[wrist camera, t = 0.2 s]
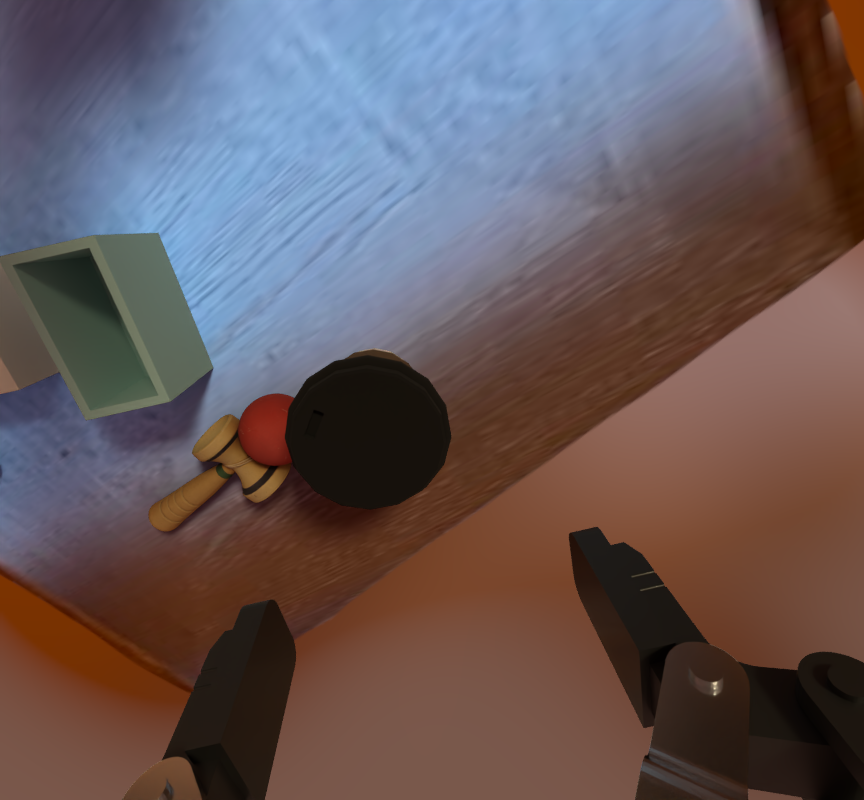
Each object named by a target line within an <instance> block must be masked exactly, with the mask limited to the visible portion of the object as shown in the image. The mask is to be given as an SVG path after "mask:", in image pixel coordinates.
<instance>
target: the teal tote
mask: <svg viewBox="0 0 864 800" xmlns="http://www.w3.org/2000/svg"><path fill="white" fill-rule="evenodd" d="M0 264H1V265H2V267H3V269H4V271H5V273H6V275H7V276H8V278H9V280H10V282H11V284H12V286H13V288H14V289H15V291H16V293H17V295H18V297H19V299H20V300H21V302H22V304H23V306H24V308H25V310H26V311H27V313H28V315H29V317H30V319H31V321H32V322H33V324H34V326H35V328H36V330H37V332H38V333H39V335H40V337H41V339H42V341H43V343H44V344H45V346H46V348H47V350H48V352H49V354H50V355H51V357H52V359H53V361H54V363H55V365H56V366H57V368H58V370H59V372H60V374H61V376H62V377H63V379H64V381H65V383H66V385H67V387H68V388H69V390H70V392H71V394H72V396H73V398H74V399H75V401H76V403H77V405H78V407H79V409H80V410H81V412H82V414H83V416H84V418H85V420H90V419H95V418H99V417H104V416H108V415H113V414H117V413H121V412H126V411H130V410H135V409H139V408H144V407H148V406H153V405H157V404H162V403H166V402H171V401H172V400H173V399H174V398H176V397H177V396H178V395H180V394H181V393H182V392H183V391H185V390H186V389H187V388H188V387H190V386H191V385H192V384H194V383H195V382H196V381H197V380H199V379H200V378H201V377H202V376H204V375H205V374H206V373H207V372H209V371H210V370H211V369H213V365H212V363H211V360H210V358H209V355H208V353H207V350H206V348H205V346H204V343H203V341H202V338H201V336H200V333H199V331H198V329H197V326H196V324H195V321H194V319H193V316H192V314H191V311H190V309H189V307H188V304H187V302H186V299H185V297H184V294H183V292H182V289H181V287H180V285H179V282H178V280H177V277H176V275H175V272H174V270H173V268H172V265H171V263H170V260H169V258H168V255H167V253H166V250H165V248H164V246H163V243H162V241H161V238H160V236H159V233H141V234H113V235H93V236H88V237H84V238H79V239H75V240H71V241H66V242H62V243H57V244H53V245H48V246H44V247H40V248H35V249H31V250H26V251H22V252H18V253H13V254H9V255H4V256H0Z"/></svg>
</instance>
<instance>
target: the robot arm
mask: <svg viewBox="0 0 864 800" xmlns="http://www.w3.org/2000/svg"><path fill="white" fill-rule="evenodd" d="M569 542H570V550H571V558H572V566H573V574H574V580H575V584H576V588H577V591H578V594H579V597H580V599H581V601H582V603H583V605H584V607H585V609H586V612H587V613H588V616H589V617H590V620H591V622H592V624H593V626H594V628H595V630H596V632H597V634H598V636H599V638H600V640H601V642H602V644H603V646H604V648H605V650H606V652H607V654H608V656H609V658H610V661H611V663H612V664H613V667H614V668H615V670H616V673H617V675H618V677H619V679H620V681H621V683H622V685H623V687H624V689H625V691H626V693H627V695H628V697H629V699H630V701H631V703H632V705H633V707H634V709H635V711H636V713H637V715H638V718H639V720H640V722H641V724H642V726H643V728H647V727H651V726H654V728H653V733H652V740H651V745H650V749H649V753H648V755H646V756H645V757H644V759H643V763H642V767H641V771H640V776H639V781H638V786H637V792H636V797H635V800H748V789H754V790H761V791H767V792H773V793H779V794H785V795H791V796H798V797H802V799H803V800H864V663H863V662H861V661H859V660H857V659H854V658H852V657H849V656H846V655H842V654H838V653H832V652H816V653H812V654H809V655H807V656H805V657H804V658H803V659H802V660H801V661H800V663H799V666H798V670H789V669H778V668H767V667H758V666H751V665H747V664H744V663H741V662H738V661H736V660H735V659H734V658H733V657H732V656H731V655H729V654H728V653H727V652H725V651H724V650H722V649H719V648H718V647H715V646H713V645H710V644H709V643H708V642H707V640H706V639H705V638H704V637H703V636H702V634H701V633H700V631H699V630H698V629H697V627H696V626H695V625H694V623H692V621H691V619H690V618H689V617H688V615H687V614H686V613H685V611H684V610H683V609H682V607H681V606H680V605H679V603H678V602H677V600H676V599H675V598H674V596H673V595H672V594H671V592H670V591H669V590H668V588H667V587H665V586H664V583H663V582H662V580H661V579H660V578H659V576H658V575H657V574H656V573H655V572H654V570H653V568H652V567H651V566H650V564H649V563H648V561H647V560H646V559H645V558H644V557H643V555H642V554H641V553H640V552H638V551H636V550H635V549H633V548H632V547H630V546H629V545H627V544H626V543H624V542H623V543H618V544H614V545H610V543H609V542H608V541H607V539H606V537H605V536H604V535H603V533H602V531H601V530H600V529H599V528H598V527H594V528H590V529H585V530H581V531H576V532H572V533H570V534H569ZM295 662H296V650H295V644H294V640H293V637H292V635H291V633H290V631H289V628H288V626H287V624H286V622H285V620H284V618H283V615H282V613H281V611H280V609H279V607H278V605H277V603H276V601H274V600H267V601H263V602H258V603H254V604H250V605H245V606H244V607H242V609H241V611H240V613H239V615H238V618H237V620H236V623H235V625H234V628H233V630H229V631H225V632H224V633H223V634H222V636H221V637H220V638H219V639H218V641H217V642H216V643H215V644H214V646H213V647H212V648H211V650H210V651H209V653H208V656H207V658H206V660H205V662H204V665H203V667H202V669H201V675H199V676H198V679H197V681H196V683H195V686H194V691H193V692H191V695H190V697H189V699H188V702H187V704H186V706H185V709H184V711H183V713H182V716H181V718H180V720H179V722H178V725H177V727H176V729H175V732H174V734H173V736H172V739H171V741H170V743H169V746H168V748H167V750H166V753H165V755H164V757H163V759H162V761H160V762H158V763H157V764H155V765H153V766H152V767H151V768H149V769H148V770H147V771H146V772H144V773H143V774H142V775H141V776H140V777H139V778H138V779H137V780H136V781H135V782H134V783H133V785H132V786H131V787H130V788H129V790H128V791H127V793H126V794H125V796H124V798H123V799H122V800H265V796H266V792H267V787H268V783H269V778H270V774H271V769H272V765H273V760H274V756H275V752H276V747H277V743H278V738H279V734H280V730H281V725H282V721H283V716H284V712H285V708H286V703H287V698H288V694H289V690H290V686H291V681H292V677H293V672H294V668H295Z"/></svg>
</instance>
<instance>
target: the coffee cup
mask: <svg viewBox="0 0 864 800" xmlns="http://www.w3.org/2000/svg"><path fill="white" fill-rule="evenodd" d="M450 440H451V432H450V426H449V420H448V414H447V409H446V404H445V403H444V402H443V400H442V399H441V397H440V396H439V394H438V393H437V391H436V390H435V388H434V387H433V385H432V384H431V382H430V381H429V379H427V378H426V377H424V376H423V375H421V374H420V373H418V372H416V371H415V370H413V369H412V367H411V366H410V365H409V363H407V362H405V361H404V360H403V359H401V358H400V357H398V356H397V355H395V354H394V353H392V352H391V351H386V350H381V349H376V348H373V349H368V350H363V351H359V352H356V353H353V354H352V355H350V356H349V357H347V358H345V359H343V360H338V361H334V362H332V363H331V364H329V365H328V366H326V367H325V368H323V369H321V370H320V371H318V372H317V373H315V374H314V375H312V376H311V377H309V378H308V379H307V380H306V381H305V383H304V384H303V386H302V387H301V389H300V391H299V392H298V394H297V395H296V397H295V398H294V400H293V401H292V403H291V405H290V406H289V408H288V415H287V423H286V431H285V441H286V444H287V447H288V450H289V453H290V456H291V460H292V463H293V466H294V467H295V468H296V470H297V471H298V472H299V473H300V475H301V476H302V477H303V478H304V479H305V480H306V481H307V483H308V484H309V485H310V486H311V487H312V488H313V489H314V491H315V492H317V493H319V494H321V495H323V496H324V497H326V498H328V499H330V500H332V501H334V502H336V503H338V504H340V505H342V506H349V507H356V508H363V509H376V508H381V507H386V506H392V505H397V504H400V503H401V502H403V501H405V500H407V499H408V498H410V497H412V496H413V495H415V494H417V493H418V492H420V491H422V490H423V489H424V488H425V487H427V485H428V484H429V483H430V482H431V480H432V479H433V478H434V477H435V475H436V474H437V473H438V471H439V470H440V469H441V468H442V466H443V465H444V463H445V459H446V455H447V451H448V448H449V444H450Z"/></svg>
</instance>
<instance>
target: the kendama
mask: <svg viewBox="0 0 864 800" xmlns="http://www.w3.org/2000/svg"><path fill="white" fill-rule="evenodd" d="M293 400H294V398H293V397H291V396H288V395H284V394H269V395H265V396H262V397H260V398H258V399H257V400H255V401H253V402H252V403H251V404H250V405H249V406H248V407H247V408H246V409H245V411H244V412H243V414H242V416H241V418H240V420H239V419H237V418H236V417H234V416H233V415H231V414H229V415H225V416H223V417H222V418H220V419H219V420H218V421H217V422H216V423H215V424H213V425H212V426H211V427H210V428H209V429H208V430H207V431H206V432H205V433H204V434H203V435H202V437H201V438H200V439H199V440H198V442H197V443H196V444H195V446H194V448H193V451H192V454H193V455H194V456H195V457H196V458H197V459H198V460H200V461H201V462H205V461H214V462H220V464H218V465H216V466H214V467H212V468H211V469H209V470H207V471H205V472H203V473H202V474H200V475H198V476H197V477H195V478H194V479H192V480H191V481H189V482H188V483H186V484H185V485H183V486H182V487H180V488H179V489H177V490H176V491H174V492H173V493H171V494H170V495H168V496H167V497H165V498H163V499H162V500H160V501H158V502H157V503H155V504H154V505H152V507H151V508H150V510H149V520H150V522H151V524H152V525H153V526H154V527H155V528H156V529H158V530H160V531H171V530H174V529H175V528H177V527H178V526H179V525H180V524H181V523H182V522H183V521H184V520H185V519H186V518H187V517H188V516H189V515H191V514H192V513H193V512H194V511H195V510H196V509H197V508H199V507H200V506H201V505H202V504H203V503H205V502H206V501H207V500H208V499H209V498H210V497H211V496H213V495H214V494H215V493H216V492H217V491H218V490H219V489H220V488H221V487H222V486H223V485H224V484H225V483H226V482H227V480H228V479H229V478H230V477H231V476H232V475H233V474H234V473H235V472H236V473H237V474H238V476H239V478H240V480H241V482H242V487H243V495H244V496H245V497H246V498H248V499H249V500H251V501H253V502H254V503H258V502H261V501H263V500H265V499H266V498H268V497H269V496H270V495H272V494H273V493H274V492H275V491H276V490H277V489H278V488H279V486H280V485H281V484H282V483H283V481H284V480H285V478H286V477H287V475H288V473H289V471H290V468H291V462H292V460H291V456H290V453H289V450H288V447H287V444H286V441H285V431H286V423H287V415H288V408H289V406H290V405H291V403H292V401H293Z"/></svg>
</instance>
